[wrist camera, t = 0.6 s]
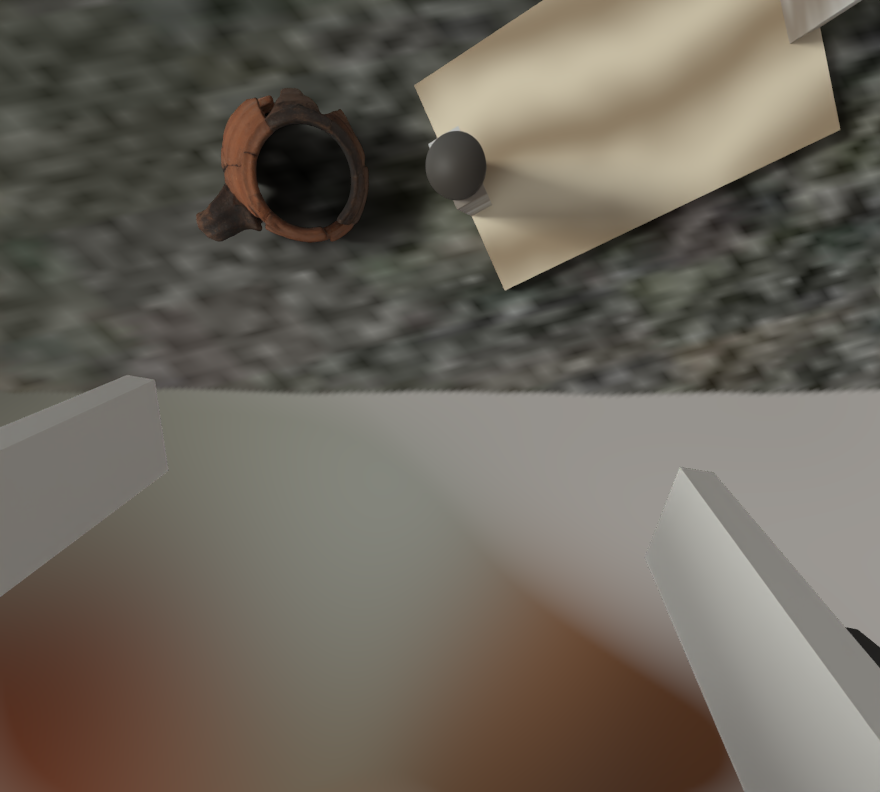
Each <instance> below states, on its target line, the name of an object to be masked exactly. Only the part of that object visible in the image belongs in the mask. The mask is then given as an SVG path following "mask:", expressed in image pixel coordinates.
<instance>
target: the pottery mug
mask: <svg viewBox="0 0 880 792" xmlns="http://www.w3.org/2000/svg"><path fill="white" fill-rule="evenodd" d="M269 111H271V112H270V113H269V115H268V116H267V117H265V115H264V114H266V113H268V112H269ZM290 124H307V125H311V126H314V127H317V128H319V129H321V130H324V131H325V132H326V133H328V134H329V135H330V136H331V137H332V138H333V139H334V140H335V141H336V142H337V143H338V144H339V146H340V147H341V149H342V150H343V152H344V154H345V156H346V158H347V161H348V164H349V167H350V172H351V191H350V195H349V199H348V201H347V203H346V205H345V207H344V209H343V211H342V212H341V213H340V215H339V216H338V218H337V221H335V222H334V223H333V224H331V225H329V226H327V227H324V228H322V227H314V228H303V227H298V226H295V225H292V224H290V223H288V222H286V221H284V220H282V219H281V218H279V217H278V216H277V215H276V214H275V213H274V212H273V211H271V210H270V208H269V207H268V206H267V204H266V203H265V201H264V199H263V197H262V195H261V193H260V190H259V187H258V183H257V177H256V164H257V158H258V155H259V152H260V150H261V148H262V146H263V144H264V142H265V141H266V140H267V139H268V138H269V137H270V136H271V135H272V134H273V132H274V131H275V130H277V129H279V128H281V127H284V126H286V125H290ZM221 162H222V168H223V172H224V175H225V184H224V186H223V188H222V190H221V191H220V193H219V194H218V195H217V196H216V198H215V199H214V200H213V201H212V202H211V203H210V204H209V206H208V208H207V209H206V210H204V211H202V212H200V213H198V214H197V215H196V217H197V219H196V220H197V224H198V227H199V229H200V230H201V231H203V232H204V233H205V234H206V236H207V237H209V238H211V239H213V240H215V241H224V240H226V239H228V238H229V237H232V236H234V235H236V234H237V233H239V232H241V231H243V230H247V229H253V230H257V231H261V230H262V226H261V223H262V222H263V221H264V222H265V223H266V226H265V228H266V229H267V230H269V231H270V232H273V233H275V234H277V235H280V236H283V237H286V238H289V239H293V240H297V241H302V242H320V241H325V240H328V239H330V241H335V240H338V239H339V238H341V237H342V236H344V235H345V234H346V233H348V232H349V231H350V230H351V229H352V228H353V225H354V224H356V223H357V222H358V221H359V220H360V217H361V215H362V212H363V210H364V206H365V203H366V199H367V194H368V187H369V173H368V167H367V166H365V154H364V151H363V149H362V146H361V144H360V143H359V141H358V139H357V137H356V136H355V134H354V132H353V130H352V128H351V126H350V124H349V122H348V120H347V118H346V116H345V115H344V113H343V112H342V110H341V109H339V110H338V111H333V112H331V113H329V114H321V113H320V111H319V109H318V106H317V104H315V103H314V101H313V100H312V99H311V98H309V97H307V96H305V95H303V94H302V92H301V91H300V90H299V89H296V88H284V89H282V90H281V94H280V97H279V98H278V99H277V100H276V102H275V104H274V102H273V98H272V97H271V96H265V97H262V98H259V99H257V98H252V99H247V100H246V101H244V102H243V103H242V104H241V105H240V106H239V107H238V108H237V109H236V110H235V112H234V113H233V114H232V115H231V117H230V118H229V120H228V122H227V125H226V127H225V130H224V134H223V144H222V150H221Z"/></svg>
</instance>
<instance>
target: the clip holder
mask: <svg viewBox="0 0 880 792" xmlns="http://www.w3.org/2000/svg"><path fill="white" fill-rule="evenodd" d="M860 1H862V0H543V1H541V2H540V3H538V4H537V5H535V6H534V7H532V8H531V9H529V10H528V11H526V12H525V13H523V14H522V15H520V16H519V17H517V18H516V19H514V20H513V21H511V22H510V23H508V24H507V25H505V26H504V27H502V28H500V29H499V30H497V31H496V32H494V33H493V34H491V35H490V36H488V37H487V38H485V39H484V40H482V41H481V42H479V43H478V44H476V45H475V46H473V47H472V48H470V49H469V50H467V51H466V52H464V53H463V54H461V55H460V56H458V57H457V58H455V59H454V60H452V61H451V62H449V63H448V64H446V65H445V66H443V67H442V68H440V69H439V70H437V71H436V72H434V73H433V74H431V75H429V76H428V77H426V78H425V79H423V80H422V81H420V82H419V83H417V84H416V85H414V86H415V88H416V90H417V93H418V95H419V97H420V99H421V102H422V104H423V106H424V108H425V111H426V113H427V115H428V118H429V120H430V122H431V124H432V127H433V129H434V131H435V133H436V136H437V139H436V140H434V141H433V142H431V143H429V144H428V145H429V147H430V149H429V151H428V154H427V158H426V174H427V178H428V180H429V182H430V184H431V186H432V187H433V189H434V190H435V191H436V192H437V193H439V194H440V195H442V196H444V197H445V198H448V199H451V200H453V201H454V203H455V205H456V208H457V209H458V210H460V211H462V212H464V213H466V214H469V215H471V216H472V217H473V220H474V222H475V224H476V226H477V229H478V231H479V233H480V235H481V238H482V240H483V242H484V245H485V247H486V249H487V251H488V254H489V256H490V258H491V260H492V263H493V265H494V267H495V269H496V272H497V274H498V276H499V279H500V281H501V283H502V285H503V288H504V290H507V289H509V288H511V287H513V286H515V285H517V284H519V283H521V282H524V281H526V280H528V279H530V278H532V277H534V276H536V275H538V274H540V273H542V272H544V271H546V270H549V269H551V268H553V267H555V266H557V265H559V264H561V263H563V262H565V261H567V260H569V259H572V258H574V257H576V256H578V255H580V254H582V253H584V252H586V251H588V250H590V249H592V248H595V247H597V246H599V245H601V244H603V243H605V242H607V241H609V240H611V239H613V238H615V237H617V236H620V235H622V234H624V233H626V232H628V231H630V230H632V229H634V228H636V227H638V226H640V225H643V224H645V223H647V222H649V221H651V220H653V219H655V218H657V217H659V216H661V215H663V214H666V213H668V212H670V211H672V210H674V209H676V208H678V207H680V206H682V205H684V204H686V203H688V202H691V201H693V200H695V199H697V198H699V197H701V196H703V195H705V194H707V193H709V192H711V191H714V190H716V189H718V188H720V187H722V186H724V185H726V184H728V183H730V182H732V181H734V180H737V179H739V178H741V177H743V176H745V175H747V174H749V173H751V172H753V171H755V170H757V169H759V168H762V167H764V166H766V165H768V164H770V163H772V162H774V161H776V160H778V159H780V158H782V157H785V156H787V155H789V154H791V153H793V152H795V151H797V150H799V149H801V148H803V147H805V146H808V145H810V144H812V143H814V142H816V141H818V140H820V139H822V138H824V137H826V136H828V135H830V134H833V133H835V132H837V131H839V130H840V125H839V120H838V115H837V110H836V105H835V100H834V95H833V90H832V85H831V80H830V75H829V70H828V65H827V60H826V55H825V50H824V44H823V39H822V34H821V29H820V27H821V26H823V25H824V24H826V23H827V22H829V21H830V20H832V19H834V18H835V17H837V16H838V15H840V14H841V13H843V12H844V11H846V10H848V9H849V8H851V7H852V6H854V5H855V4H857V3H858V2H860Z"/></svg>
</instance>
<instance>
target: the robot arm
mask: <svg viewBox="0 0 880 792" xmlns="http://www.w3.org/2000/svg"><path fill="white" fill-rule="evenodd" d="M167 471H168V464H167V458H166V451H165V445H164V438H163V431H162V424H161V418H160V411H159V404H158V398H157V391H156V384H155V380H153V379H147V378H141V377H135V376H129V375H126V376H124V377H121V378H119V379H117V380H114V381H112V382H109V383H107V384H104V385H102V386H99V387H97V388H95V389H92V390H90V391H87V392H85V393H82V394H80V395H78V396H75V397H73V398H70V399H68V400H65V401H63V402H61V403H58V404H56V405H54V406H51V407H48V408H46V409H43V410H41V411H39V412H36V413H34V414H31V415H29V416H26V417H24V418H22V419H19V420H17V421H14V422H12V423H9V424H7V425H5V426H2V427H0V597H1V596H2V595H3V594H5V593H6V592H7V591H9V590H10V589H11V588H13V587H14V586H15V585H17V584H18V583H19V582H21V581H22V580H23V579H25V578H26V577H27V576H29V575H30V574H31V573H33V572H34V571H35V570H37V569H38V568H39V567H41V566H42V565H43V564H45V563H46V562H47V561H49V560H50V559H51V558H53V557H54V556H55V555H57V554H58V553H59V552H61V551H62V550H63V549H65V548H66V547H67V546H68V545H70V544H71V543H73V542H74V541H75V540H77V539H78V538H79V537H81V536H82V535H83V534H85V533H86V532H87V531H89V530H90V529H91V528H93V527H94V526H95V525H97V524H98V523H99V522H101V521H102V520H103V519H105V518H106V517H108V516H109V515H110V514H112V513H113V512H114V511H116V510H117V509H118V508H120V507H121V506H122V505H123V504H125V503H126V502H128V501H129V500H130V499H131V498H133V497H134V496H135V495H137V494H138V493H139V492H141V491H142V490H143V489H145V488H146V487H147V486H149V485H150V484H151V483H153V482H154V481H156V480H157V479H158V478H160V477H161V476H162V475H164V474H165V473H166V472H167ZM645 560H646V563H647V565H648V567H649V570H650V572H651V574H652V577H653V579H654V581H655V584H656V586H657V588H658V591H659V593H660V595H661V598H662V600H663V602H664V604H665V607H666V609H667V612H668V614H669V616H670V619H671V621H672V623H673V626H674V628H675V630H676V633H677V635H678V637H679V640H680V642H681V644H682V647H683V649H684V652H685V654H686V656H687V659H688V661H689V663H690V666H691V668H692V670H693V672H694V675H695V677H696V680H697V682H698V684H699V687H700V689H701V691H702V694H703V696H704V698H705V701H706V703H707V705H708V708H709V710H710V712H711V715H712V717H713V719H714V722H715V724H716V726H717V729H718V731H719V734H720V736H721V738H722V740H723V743H724V745H725V747H726V750H727V752H728V755H729V757H730V759H731V761H732V763H733V766H734V769H735V771H736V773H737V775H738V778H739V780H740V782H741V785H742V787H743V790H744V792H880V647H879V646H877V645H876V644H875V643H874V642H872V641H871V640H870V639H869V638H867V637H866V636H865V635H864V634H862V633H861V632H860V631H859V630H857V629H852V628H846V627H844V625H843V624H842V623H841V622H840V621H839V619H838V618H836V616H835V615H834V614H833V612H832V611H831V610H830V609H829V608H828V607H827V605H826V604H825V603H824V602H823V601H822V599H821V598H820V597H819V596H818V595H817V594H816V592H815V591H814V590H813V589H812V588H811V586H810V585H809V584H808V583H807V582H806V581H805V579H804V578H803V577H802V576H801V575H800V574H799V573H798V571H797V570H796V569H795V568H794V567H793V565H792V564H791V563H790V562H789V561H788V559H787V558H786V557H785V556H784V555H783V553H782V552H781V551H780V550H779V549H778V548H777V546H776V545H775V544H774V543H773V542H772V541H771V539H770V538H769V537H768V536H767V535H766V533H764V531H763V530H762V529H761V528H760V526H759V525H758V524H757V523H756V522H755V521H754V519H753V518H752V517H751V516H750V515H749V514H748V512H747V511H746V510H745V509H744V508H743V507H742V505H741V504H740V503H739V502H738V501H737V499H736V498H735V497H734V496H733V495H732V493H731V492H730V491H729V490H728V489H727V488H726V486H724V484H723V483H722V482H721V480H720V479H719V478H718V477H717V476H716V475H715V473H713V472H708V471H702V470H696V469H690V468H684V467H680V468H679V470H678V473H677V476H676V478H675V481H674V483H673V486H672V489H671V491H670V494H669V496H668V499H667V501H666V504H665V506H664V509H663V511H662V514H661V517H660V519H659V522H658V525H657V527H656V529H655V532H654V534H653V537H652V540H651V542H650V545H649V547H648V550H647V552H646V555H645Z"/></svg>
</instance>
